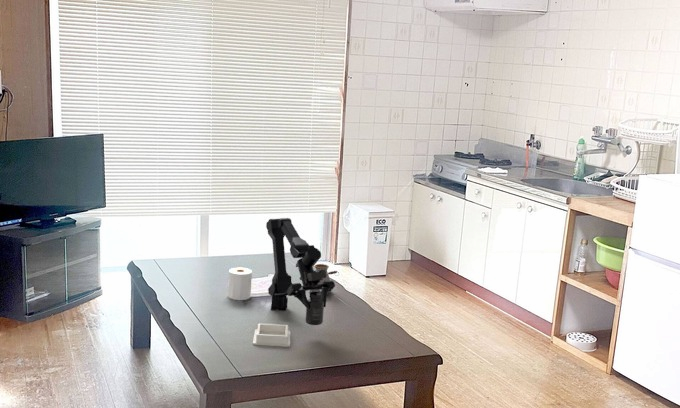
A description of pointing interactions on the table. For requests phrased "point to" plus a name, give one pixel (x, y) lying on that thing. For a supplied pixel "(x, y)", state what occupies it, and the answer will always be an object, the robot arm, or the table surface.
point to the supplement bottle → (315, 309)
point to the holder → (272, 335)
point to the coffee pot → (325, 267)
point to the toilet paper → (239, 283)
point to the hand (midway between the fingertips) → (316, 307)
